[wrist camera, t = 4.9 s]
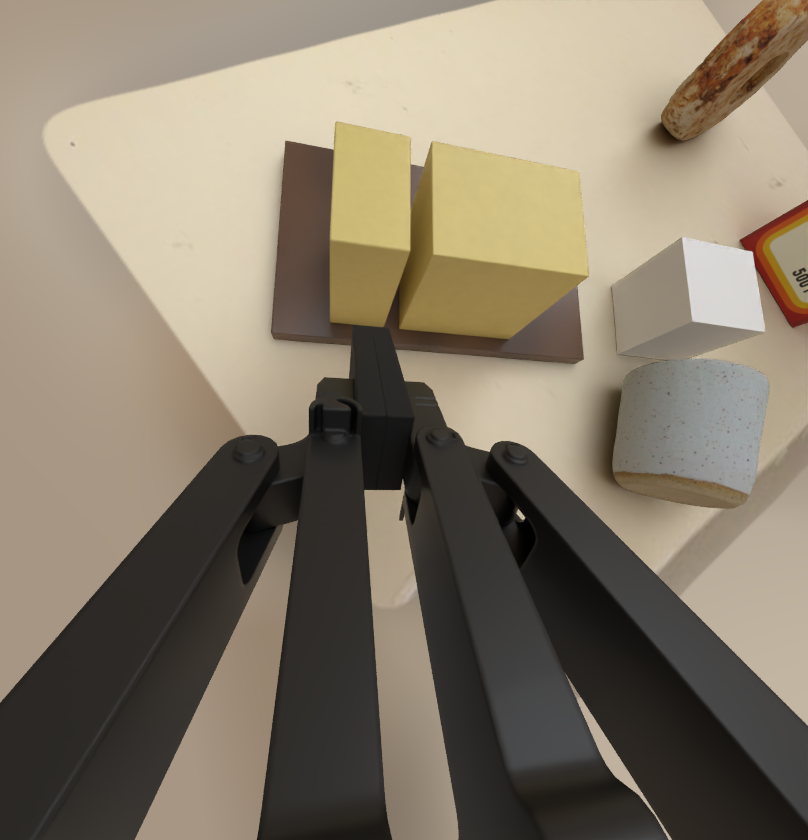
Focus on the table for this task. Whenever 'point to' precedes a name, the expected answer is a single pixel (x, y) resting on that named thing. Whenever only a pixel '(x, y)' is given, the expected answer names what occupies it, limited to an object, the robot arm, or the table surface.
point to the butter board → (310, 285)
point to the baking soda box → (784, 261)
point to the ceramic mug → (691, 431)
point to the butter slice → (368, 223)
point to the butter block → (490, 243)
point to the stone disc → (737, 67)
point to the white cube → (687, 302)
